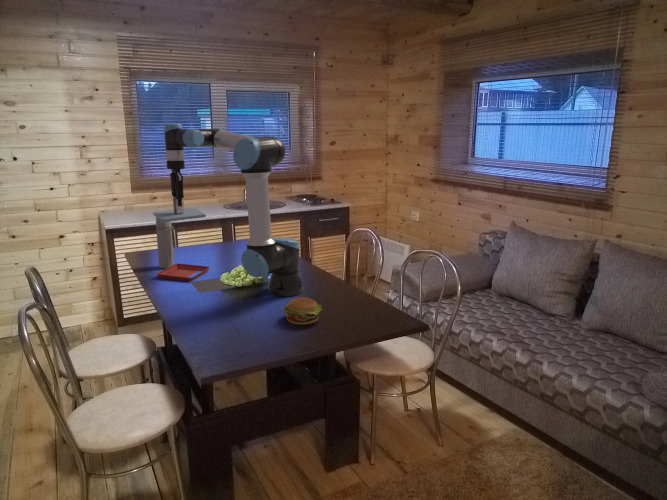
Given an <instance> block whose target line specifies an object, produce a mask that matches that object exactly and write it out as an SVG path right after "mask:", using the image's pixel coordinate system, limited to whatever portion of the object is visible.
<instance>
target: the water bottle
mask: <svg viewBox="0 0 667 500" xmlns="http://www.w3.org/2000/svg"><path fill="white" fill-rule="evenodd" d="M155 228H156V243H157V254H158V255H157V257H158V267H159V268H160V269H163V270H164V269H166V268H168V267H170V266H172V265H174V264H175V262H174V261H175V249H174V241H173V233H172V229H174V226H173V225H172V221H170V222H161V221H160V220H159V219H158V218H156V217H155Z"/></svg>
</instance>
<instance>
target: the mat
mask: <svg viewBox="0 0 667 500" xmlns="http://www.w3.org/2000/svg"><path fill="white" fill-rule="evenodd" d="M220 278H221V277H216V278H210V279H208V278H207V279H203V280H193V281H189V283H190V284H191V285H192V286H193V287H195V289H196V290H197V291H198V292H199V293H201V294H202V293H207V292H215V291H220V290H227V289H234V288H236V287H235V286H236V285H235V286H229V285H225V284H223V283H222V282H221V281H220Z"/></svg>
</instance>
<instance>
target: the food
mask: <svg viewBox="0 0 667 500" xmlns="http://www.w3.org/2000/svg"><path fill="white" fill-rule="evenodd" d="M282 309H283V312H284V314H285V317H286V320H287V322H288V323H291V324H293V325H298V326H299V325H300V326H306V324H307V325H311V324H313V323H314V324H315V323H316V322H317V321H318V320H319V315H321V314H322V313H323V312H324V311H323V307H322V305H321V304H320V303H319V304H318V302H317V301H316V300H314V299H313V298H312V299H311V297H306V296H304V297H303V296H302V297H301V296H300V297H296V298H293V299H291V300H290V301H289V302H288V303H287V304H286V305H285V306H284V307H282Z"/></svg>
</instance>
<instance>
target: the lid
mask: <svg viewBox="0 0 667 500" xmlns="http://www.w3.org/2000/svg"><path fill="white" fill-rule="evenodd" d="M175 198H176V197H175ZM175 198H173V197H172V203H173V209H171V210H170V209H169V210H160V211H152V215H153V216H154V217H155V219H156V218H158V219H159V220H160V221H161V222H170V221H171V222H176V221H185V220H193V219H194V220H195V219H201V218H206V217H207V215H206V213H204V212H202V211H201V210H199V209H198V208H196V207H189V208H188V207H187V208H183V213H178V214H177V211H176V199H175Z"/></svg>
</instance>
